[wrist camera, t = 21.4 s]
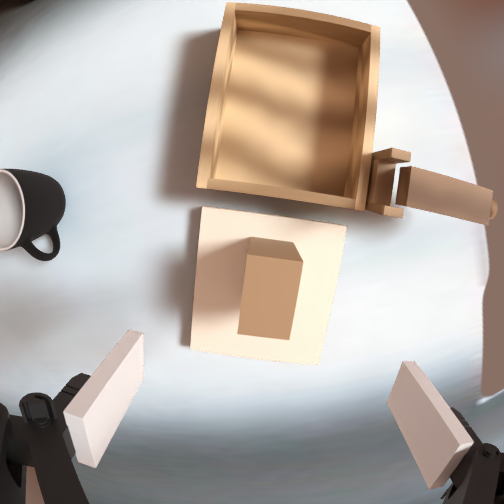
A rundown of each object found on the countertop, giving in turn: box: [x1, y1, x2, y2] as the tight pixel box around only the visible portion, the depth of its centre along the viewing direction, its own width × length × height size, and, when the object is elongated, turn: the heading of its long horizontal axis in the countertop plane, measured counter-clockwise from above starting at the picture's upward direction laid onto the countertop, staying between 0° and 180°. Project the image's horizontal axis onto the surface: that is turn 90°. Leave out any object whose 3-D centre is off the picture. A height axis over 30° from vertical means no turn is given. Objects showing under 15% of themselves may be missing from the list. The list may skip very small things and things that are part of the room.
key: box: [395, 166, 497, 225], centre depth 26 cm, size 4×11×2 cm, turn 82°
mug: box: [0, 169, 65, 261], centre depth 32 cm, size 12×9×10 cm
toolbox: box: [196, 2, 411, 218], centre depth 28 cm, size 20×18×10 cm
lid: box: [190, 206, 347, 365], centre depth 33 cm, size 17×16×11 cm
